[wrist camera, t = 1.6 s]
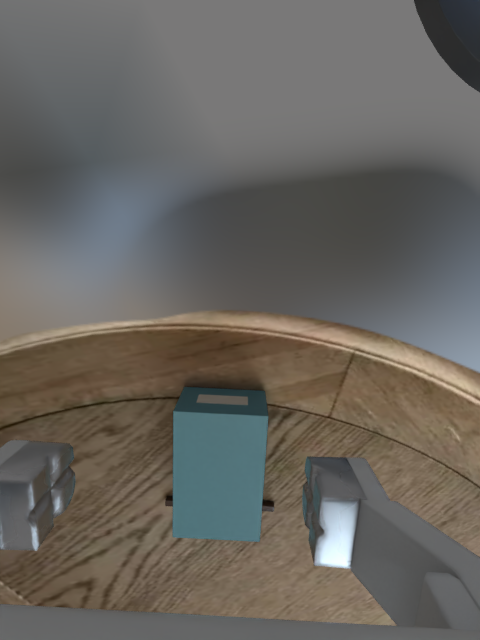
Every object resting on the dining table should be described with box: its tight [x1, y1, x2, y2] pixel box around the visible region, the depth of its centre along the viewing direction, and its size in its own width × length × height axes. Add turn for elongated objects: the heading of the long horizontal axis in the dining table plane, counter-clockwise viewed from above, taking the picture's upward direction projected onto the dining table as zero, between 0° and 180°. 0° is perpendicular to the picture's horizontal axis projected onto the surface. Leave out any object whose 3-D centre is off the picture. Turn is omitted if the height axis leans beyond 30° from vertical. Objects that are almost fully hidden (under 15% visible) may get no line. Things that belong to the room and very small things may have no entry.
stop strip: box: [165, 496, 274, 512], centre depth 31 cm, size 1×10×1 cm, turn 87°
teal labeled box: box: [173, 387, 268, 542], centre depth 28 cm, size 11×7×4 cm, turn 177°
